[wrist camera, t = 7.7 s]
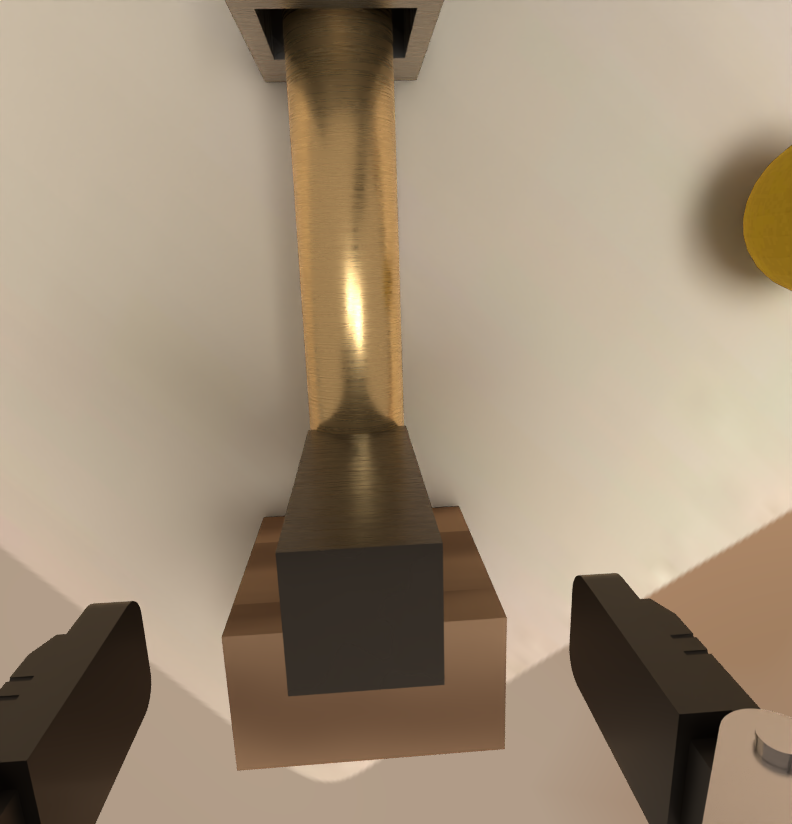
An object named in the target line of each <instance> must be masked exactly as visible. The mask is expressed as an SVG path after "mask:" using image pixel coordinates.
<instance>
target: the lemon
mask: <svg viewBox="0 0 792 824" xmlns="http://www.w3.org/2000/svg"><path fill="white" fill-rule="evenodd" d="M743 236H744V239H745V243H746V247H747V250H748V252H749V254H750V256H751V257H752V259H753V261H754V262H755V264H756V266H757V267H758V268H759V269H760V270H761V271H762V272H763V273H764V274H765V275H766V276H767V277H768V278H770V279H771V280H772V281H773V282H775V283H777V284H779V285H781V286H783V287H785V288H787V289H789V290H791V291H792V145H791V146H790V147H789V148H787V149H786V150H785V151H784V152H783V153H782V154H780V155H779V156H778V157H777V158H776V159H775V160H774V161H772V162H771V163H770V164H769V165H768V167H767V168H766V169H765V171H764V172H763V173H762V175H761V176H760V177H759V179H758V180H757V181H756V183H755V185H754V187H753V189H752V191H751V194H750V196H749V198H748V200H747V203H746V208H745V212H744V217H743Z"/></svg>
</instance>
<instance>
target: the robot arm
mask: <svg viewBox="0 0 792 824" xmlns="http://www.w3.org/2000/svg"><path fill="white" fill-rule="evenodd" d="M569 648H570V649H569V651H570V661H571V667H572V671H573V675H574V678H575V681H576V683H577V686H578V687H579V689H580V691H581V693H582V695H583V697H584V699H585V701H586V703H587V705H588V707H589V709H590V711H591V713H592V714H593V717H594V718H595V720H596V722H597V724H598V726H599V728H600V730H601V732H602V734H603V736H604V738H605V740H606V742H607V744H608V745H609V747H610V749H611V751H612V753H613V755H614V757H615V759H616V761H617V763H618V765H619V767H620V769H621V770H622V773H623V774H624V776H625V778H626V780H627V782H628V784H629V786H630V788H631V790H632V792H633V794H634V796H635V798H636V800H637V801H638V803H639V805H640V807H641V809H642V811H643V813H644V815H645V817H646V819H647V821H648V823H649V824H792V718H791V717H788V716H785V715H783V714H779V713H776V712H773V711H768V710H762V709H760V708H759V707H758V706H757V704H755V702H754V701H753V700H752V699H751V698H750V697H749V696H748V694H746V692H745V691H744V690H743V689H742V688H741V687H740V686H739V684H738V683H737V682H736V681H735V680H734V679H733V678H732V677H731V675H730V674H729V673H728V672H727V671H726V670H725V669H724V668H723V666H722V665H721V664H720V663H719V662H718V661H717V660H716V659H715V658H714V656H713V655H712V654H708V652H707V649H706V647H705V646H704V645H703V644H702V643H701V642H700V641H699V640H698V639H697V638H696V637H693V633H692V632H691V631H690V630H689V629H688V627H687V626H686V625H684V623H683V622H682V621H681V620H680V618H679V617H678V616H677V615H676V614H675V613H673V612H671V611H670V610H668V609H666V608H664V607H663V606H661V605H660V604H658V603H656V602H655V601H653V600H651V599H639V597H638V596H637V595H636V594H635V593H634V591H633V590H632V589H631V588H630V587H629V585H628V584H627V583H626V582H625V581H624V579H623V578H622V577H621V576H620V575H619V574H617V573H611V574H594V575H578V576H576V577H575V579H574V582H573V589H572V608H571V627H570V647H569ZM150 693H151V673H150V666H149V660H148V653H147V647H146V640H145V634H144V627H143V621H142V614H141V610H140V607H139V605H138V604H137V602H135V601H129V602H112V603H95V604H90V605H89V606H88V607H87V608H86V609H85V610H84V612H83V613H82V614H81V616H80V617H79V618H78V620H77V621H76V622H75V623H74V625H73V626H72V627H71V629H70V630H69V631H68V633H67V634H62V635H56V636H54V637H53V638H51V639H50V640H49V641H47V642H46V643H44V644H43V645H42V646H40V647H39V648H37V649H36V650H35V651H33V652H32V653H30V654H29V655H28V656H27V657H26V658H25V660H24V661H23V662H22V663H21V665H20V666H19V667H18V668H17V669H16V671H15V672H14V673H13V674H12V676H11V677H10V681H9V682H6V683H5V684H4V685H3V687H2V688H1V689H0V824H95V823H96V821H97V819H98V816H99V814H100V812H101V810H102V808H103V806H104V803H105V801H106V799H107V797H108V795H109V792H110V790H111V788H112V786H113V784H114V782H115V779H116V777H117V775H118V773H119V771H120V768H121V766H122V764H123V762H124V760H125V757H126V755H127V753H128V751H129V749H130V747H131V744H132V742H133V740H134V738H135V736H136V734H137V731H138V729H139V727H140V725H141V722H142V720H143V718H144V716H145V714H146V711H147V708H148V704H149V699H150Z"/></svg>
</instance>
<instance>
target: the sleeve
mask: <svg viewBox="0 0 792 824" xmlns="http://www.w3.org/2000/svg"><path fill="white" fill-rule="evenodd" d="M225 1H226V3H227V5H228V8H229V10H230V12H231V14H232V16H233V18H234V20H235V22H236V24H237V26H238V28H239V30H240V32H241V34H242V36H243V38H244V40H245V42H246V44H247V46H248V48H249V50H250V52H251V54H252V56H253V58H254V60H255V62H256V64H257V66H258V68H259V70H260V72H261V75H262V77H263V79H264V81H265V82H287V80H286V66H285V51H284V36H283V22H282V9H302V8H392V34H393V68H394V80H417V77H418V74H419V71H420V68H421V65H422V63H423V60H424V57H425V54H426V51H427V48H428V45H429V42H430V39H431V36H432V34H433V31H434V28H435V25H436V22H437V19H438V16H439V13H440V10H441V7H442V5H443V2H444V0H225Z"/></svg>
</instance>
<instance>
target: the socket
mask: <svg viewBox="0 0 792 824" xmlns="http://www.w3.org/2000/svg"><path fill="white" fill-rule="evenodd" d="M432 510H433V513H434V517H435V520H436V523H437V526H438V529H439V532H440V536H441V539H442V542H443V597H444V674H445V685H437V686H423V687H410V688H396V689H383V690H369V691H356V692H342V693H329V694H315V695H302V696H288V690H287V678H286V667H285V656H284V644H283V633H282V622H281V610H280V599H279V588H278V576H277V565H276V554H275V552H276V549H277V545H278V541H279V538H280V534H281V530H282V526H283V523H284V519H285V516H281V517H264V518H263V521H262V524H261V527H260V530H259V532H258V535H257V538H256V541H255V544H254V547H253V549H252V552H251V555H250V558H249V561H248V564H247V566H246V569H245V572H244V575H243V578H242V581H241V584H240V586H239V589H238V592H237V595H236V598H235V601H234V603H233V606H232V609H231V612H230V615H229V618H228V620H227V623H226V626H225V629H224V632H223V635H222V644H223V653H224V661H225V670H226V678H227V687H228V695H229V704H230V713H231V721H232V730H233V738H234V747H235V755H236V763H237V770H250V769H263V768H276V767H288V766H301V765H313V764H325V763H338V762H350V761H362V760H375V759H387V758H399V757H412V756H424V755H436V754H447V753H461V752H473V751H485V750H498V749H505V692H506V691H505V690H506V632H507V617H506V615H505V612H504V610H503V608H502V606H501V603H500V601H499V599H498V596H497V594H496V592H495V589H494V587H493V585H492V582H491V580H490V578H489V575H488V573H487V571H486V568H485V566H484V564H483V561H482V559H481V557H480V554H479V552H478V550H477V547H476V545H475V543H474V540H473V538H472V536H471V533H470V531H469V529H468V526H467V524H466V522H465V519H464V517H463V515H462V512H461V510H460V508H459V506H458V507H440V508H432Z"/></svg>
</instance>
